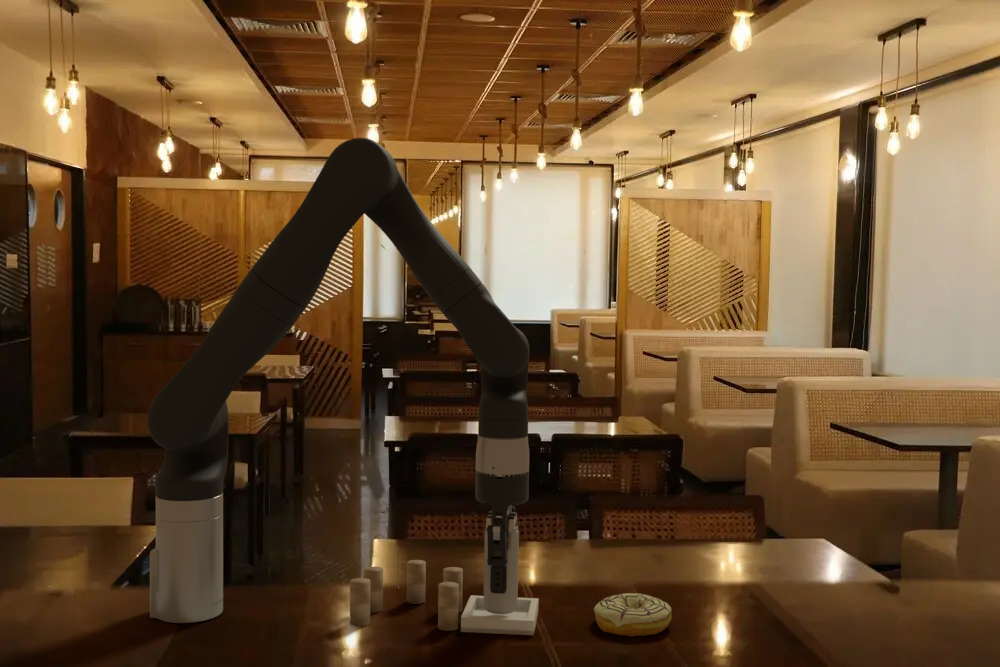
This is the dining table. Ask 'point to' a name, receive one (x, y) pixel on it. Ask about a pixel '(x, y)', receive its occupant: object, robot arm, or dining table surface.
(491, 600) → the beverage can
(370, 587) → the posts
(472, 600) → the parts tray
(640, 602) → the decorated donut
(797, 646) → the dining table surface
